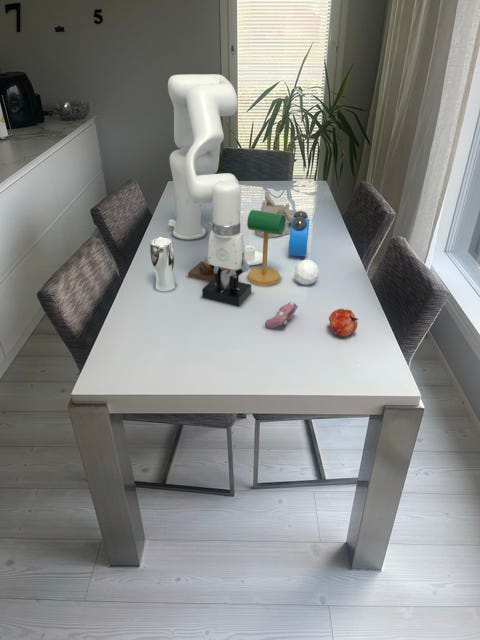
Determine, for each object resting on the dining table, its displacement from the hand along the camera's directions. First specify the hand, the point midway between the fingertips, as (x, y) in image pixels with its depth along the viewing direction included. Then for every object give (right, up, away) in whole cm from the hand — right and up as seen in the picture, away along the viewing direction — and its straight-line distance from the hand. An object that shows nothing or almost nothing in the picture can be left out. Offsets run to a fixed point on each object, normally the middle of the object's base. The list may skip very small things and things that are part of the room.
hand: (226, 285), depth 136 cm
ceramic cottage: (+18, +25, +46) cm, 55 cm away
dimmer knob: (0, 0, 0) cm, 0 cm away
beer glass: (-19, 0, +6) cm, 20 cm away
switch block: (-6, +5, +13) cm, 15 cm away
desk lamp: (+12, +3, +11) cm, 17 cm away
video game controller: (+15, -11, -10) cm, 21 cm away
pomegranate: (+31, -14, -14) cm, 37 cm away
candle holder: (+7, +11, +23) cm, 27 cm away
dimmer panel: (0, -3, +2) cm, 4 cm away
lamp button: (-6, +7, +12) cm, 15 cm away
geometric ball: (+25, +1, +9) cm, 26 cm away
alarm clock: (+24, +13, +27) cm, 39 cm away
